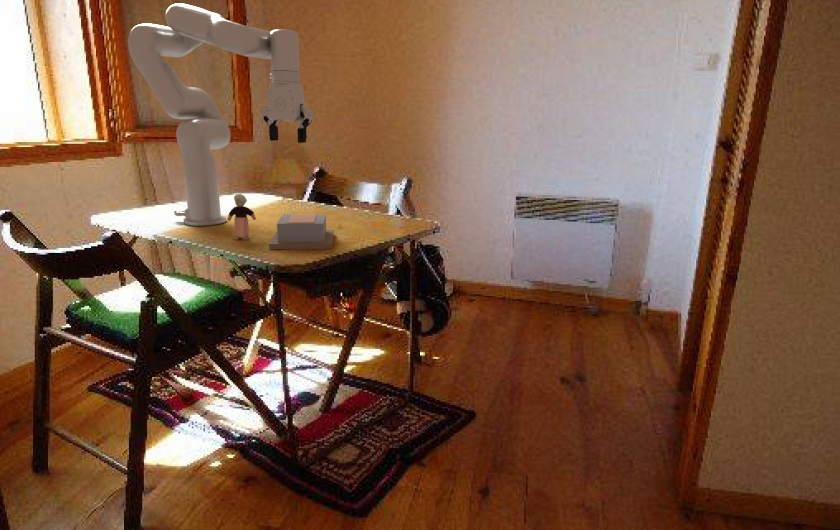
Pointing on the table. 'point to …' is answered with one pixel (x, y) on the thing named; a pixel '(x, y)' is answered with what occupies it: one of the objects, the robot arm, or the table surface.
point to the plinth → (303, 244)
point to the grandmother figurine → (241, 218)
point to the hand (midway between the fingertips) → (287, 141)
